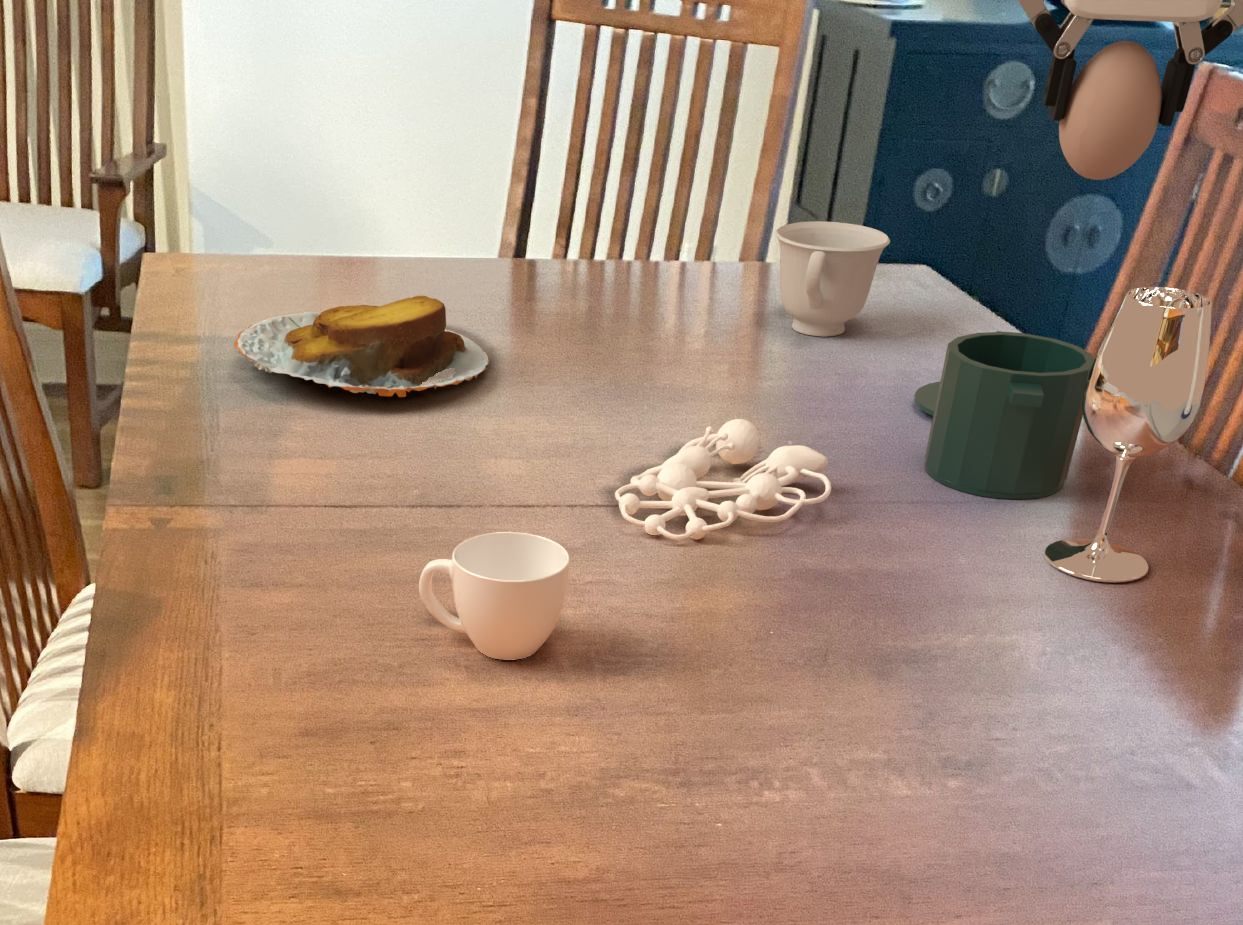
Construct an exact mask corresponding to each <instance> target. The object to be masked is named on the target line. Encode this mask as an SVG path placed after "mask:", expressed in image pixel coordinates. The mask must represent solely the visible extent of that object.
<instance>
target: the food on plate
mask: <svg viewBox="0 0 1243 925" xmlns="http://www.w3.org/2000/svg"><path fill="white" fill-rule="evenodd" d="M446 311H447V308H446V306H445V304H444V302H442V301H440V300H439V299H437V298H432V297H429V296H427V295H416V296H412V297H407V298H403V299H398V300H396V301H392V302H389V303H386V304H383V305H380V306H379V305H368V304H359V305H341V306H340V305H339V306H336V307H331V308H329V309H326V310H323V311H321V312H320V311H319V312H318V311H316V312H315V311H304V312H301V313H289V314H288V313H287V314H283V315H282V314H281V315H276V316H272V317H268V318H265V319H263V320H260V321H258V322H255V323H252V324H250V325H249V326H248V327H247V328H245V329H243V330H242V331H240V332H239V333H238V334H237V338H236V340H235V341H234V343H233V345H234V348H235V349H236V350H238V353H239V354H241V355H242V356H245V357H246V358H247V361H248V363H253V364H254V366H255V367H256V368H257V369H258V370H259V371H263V370H264V371H265V372H266V373H269V374H272V373H276V374H286V375H289V376H291V377H292V378H293V377H294V378H301V379H304V380H305V381H309V380H312V381H313V382H314V384H315V383H316V384H324V385H326V386H327V387H328V388H329V389H330V388H333V387H339V388H341V389H343V390H345V391H349V392H350V393H353V394H358V393H362V394H363V393H365V392H366V393H367V394H373V395H376V394H378V396H379V397H393V396H394V394H396V395H397V396H398V398H405V397H407V393H410V392H411V391H418V392H420V391H424V390H427V389H428V388H429V389H430V388H434V390H436V389H437V388H438V387H442V388H443V387H446V386H449V385H456V386H458V385H459V384H460V383H462V382H464V381H471V380H472V379H473V378H475V379H477V378H478V375H479V374H481V373H482V372H484V371H485V370H487V368H486V366H487V365H488V364H491V362H490V358H489V356H488V355H489V352H488V351H486V350H485V351H484V350H483V348H482V347H481V345H478V343H476V342H474V340H473V339H470V338H468V337H466V336H464V335H462V334H460V333H458V332H457V331H455V330H454V331H453V330H450V329H446V327H447V312H446ZM449 368H455V370H454V371H455V372H456V373H455V374H454V375H453V378H452V379H446V380H442V381H441V382H440V381H439V382H438V383H433V384H428V385H422V386H420V385H421V384H422V382H426V381H427V380H428V378H429V377H433V376H434V375H435V374H436V373H438V372H442V371H443V370H445V369H449Z"/></svg>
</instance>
